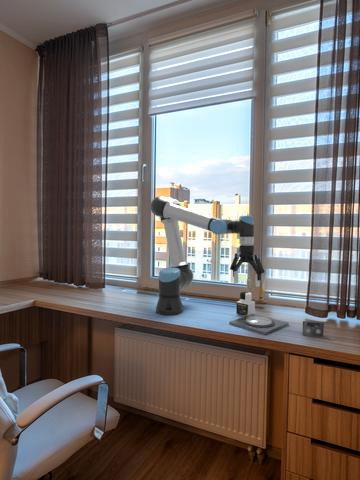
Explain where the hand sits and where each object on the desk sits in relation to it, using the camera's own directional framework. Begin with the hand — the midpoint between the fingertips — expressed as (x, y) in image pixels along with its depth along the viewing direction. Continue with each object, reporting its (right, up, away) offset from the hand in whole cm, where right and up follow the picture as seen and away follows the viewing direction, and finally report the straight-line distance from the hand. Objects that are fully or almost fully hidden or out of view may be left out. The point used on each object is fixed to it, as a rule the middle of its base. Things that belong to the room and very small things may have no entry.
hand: (246, 284), depth 165 cm
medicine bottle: (0, -16, +1) cm, 16 cm away
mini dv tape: (+22, -18, -30) cm, 41 cm away
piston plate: (+3, -17, -15) cm, 23 cm away
